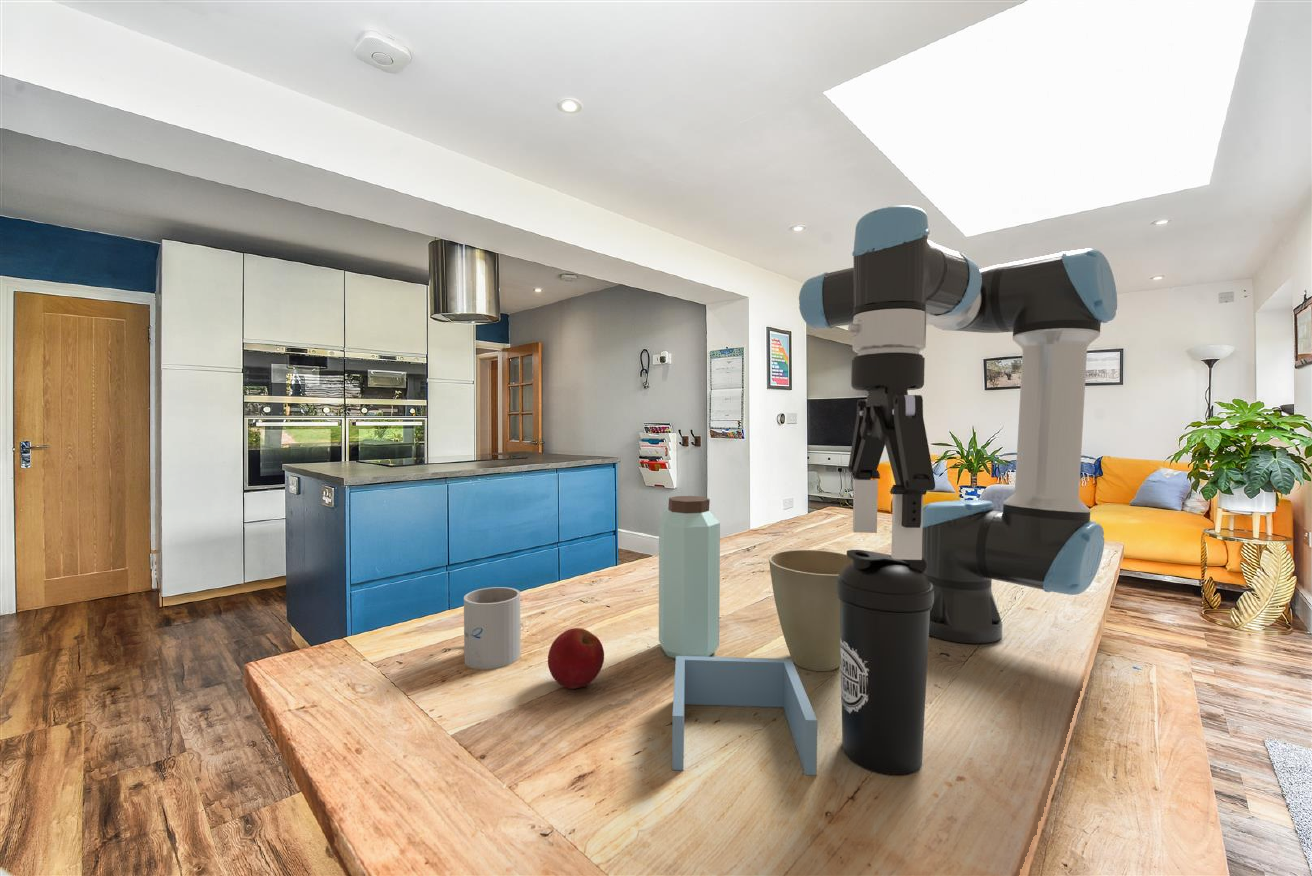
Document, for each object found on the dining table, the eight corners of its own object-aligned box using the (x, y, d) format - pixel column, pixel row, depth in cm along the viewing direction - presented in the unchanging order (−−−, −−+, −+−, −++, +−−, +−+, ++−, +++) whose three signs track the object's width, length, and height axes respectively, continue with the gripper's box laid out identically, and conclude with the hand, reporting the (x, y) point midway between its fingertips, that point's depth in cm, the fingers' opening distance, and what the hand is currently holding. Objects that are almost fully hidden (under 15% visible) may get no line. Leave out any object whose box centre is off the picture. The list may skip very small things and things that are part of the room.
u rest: (790, 703, 76) (791, 658, 76) (816, 775, 61) (817, 720, 60) (675, 699, 77) (675, 655, 77) (672, 770, 62) (672, 715, 61)
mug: (526, 662, 88) (526, 599, 88) (469, 673, 85) (468, 607, 84) (508, 635, 99) (508, 578, 99) (457, 644, 95) (456, 585, 95)
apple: (559, 704, 76) (558, 644, 75) (541, 679, 83) (541, 625, 83) (611, 691, 79) (611, 634, 79) (590, 668, 86) (590, 616, 86)
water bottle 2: (821, 730, 69) (823, 543, 69) (901, 726, 70) (904, 542, 69) (857, 783, 59) (860, 565, 58) (950, 778, 60) (955, 563, 59)
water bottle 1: (716, 666, 87) (717, 504, 86) (652, 660, 89) (652, 502, 88) (721, 641, 97) (722, 495, 96) (664, 636, 99) (664, 493, 98)
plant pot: (760, 674, 84) (761, 568, 84) (775, 637, 98) (776, 546, 98) (867, 691, 79) (869, 578, 79) (867, 650, 93) (868, 554, 93)
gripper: (826, 365, 76) (823, 523, 76) (893, 337, 51) (887, 572, 52) (883, 365, 75) (880, 524, 76) (979, 337, 50) (973, 574, 51)
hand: (883, 544), depth 64 cm, fingers open, 13 cm apart
